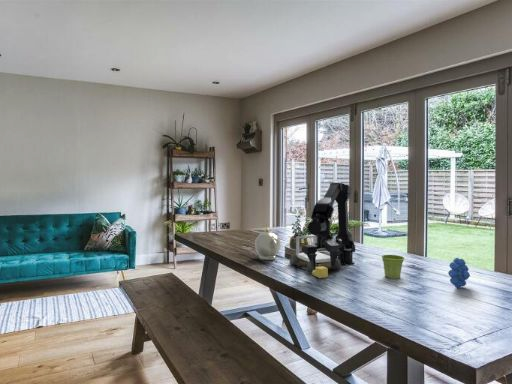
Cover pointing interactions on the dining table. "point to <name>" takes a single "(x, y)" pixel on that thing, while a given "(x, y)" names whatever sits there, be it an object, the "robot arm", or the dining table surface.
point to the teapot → (267, 245)
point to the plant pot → (392, 265)
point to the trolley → (319, 258)
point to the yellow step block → (320, 272)
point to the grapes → (458, 273)
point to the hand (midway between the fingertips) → (323, 268)
